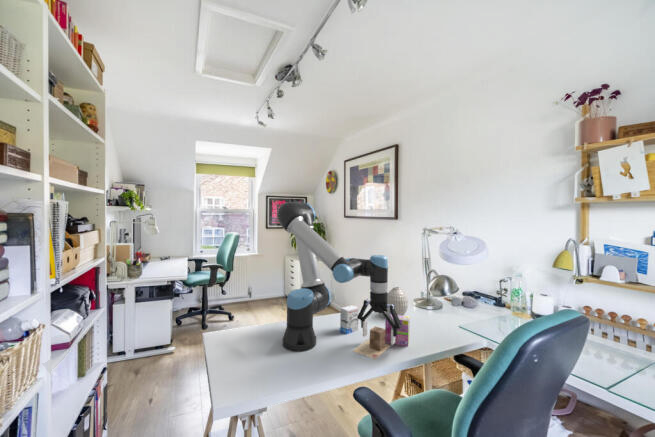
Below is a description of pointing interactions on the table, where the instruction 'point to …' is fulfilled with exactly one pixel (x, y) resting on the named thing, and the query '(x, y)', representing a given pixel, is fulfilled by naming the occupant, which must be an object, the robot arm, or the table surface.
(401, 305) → the vase
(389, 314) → the robot arm
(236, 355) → the table surface
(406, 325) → the box
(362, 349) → the letter
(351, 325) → the ink box
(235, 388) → the table surface
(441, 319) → the table surface
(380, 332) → the block
